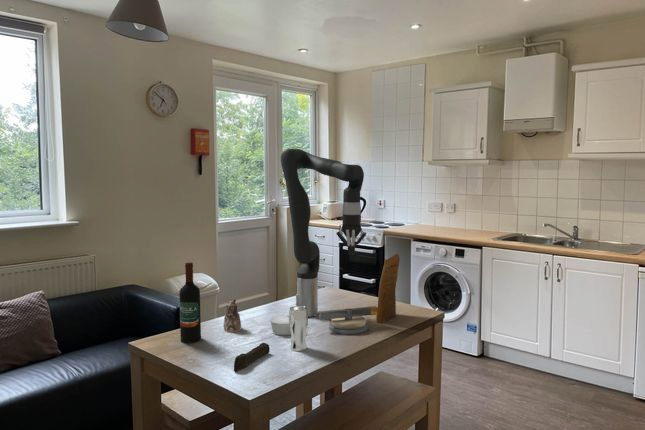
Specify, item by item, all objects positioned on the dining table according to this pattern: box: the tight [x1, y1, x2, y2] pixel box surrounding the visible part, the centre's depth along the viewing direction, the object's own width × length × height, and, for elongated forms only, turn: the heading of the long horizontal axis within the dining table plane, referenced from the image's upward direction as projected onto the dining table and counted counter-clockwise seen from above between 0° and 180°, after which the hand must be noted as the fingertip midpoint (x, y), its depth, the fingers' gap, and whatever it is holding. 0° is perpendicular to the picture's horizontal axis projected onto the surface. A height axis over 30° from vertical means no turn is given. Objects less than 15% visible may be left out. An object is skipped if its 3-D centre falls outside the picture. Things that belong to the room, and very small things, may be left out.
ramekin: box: [269, 314, 291, 336], centre depth 195 cm, size 11×11×5 cm
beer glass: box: [288, 305, 309, 352], centre depth 176 cm, size 7×7×15 cm
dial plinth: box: [328, 321, 369, 336], centre depth 200 cm, size 16×16×2 cm
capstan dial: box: [318, 305, 378, 330], centre depth 199 cm, size 14×25×6 cm, turn 108°
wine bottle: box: [179, 261, 202, 344], centre depth 185 cm, size 8×8×30 cm
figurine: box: [223, 299, 242, 333], centre depth 198 cm, size 7×7×12 cm
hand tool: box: [233, 342, 270, 372], centre depth 165 cm, size 19×4×5 cm, turn 152°
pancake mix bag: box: [375, 253, 400, 324], centre depth 212 cm, size 7×19×28 cm, turn 146°
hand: (351, 254), depth 201 cm, fingers closed
